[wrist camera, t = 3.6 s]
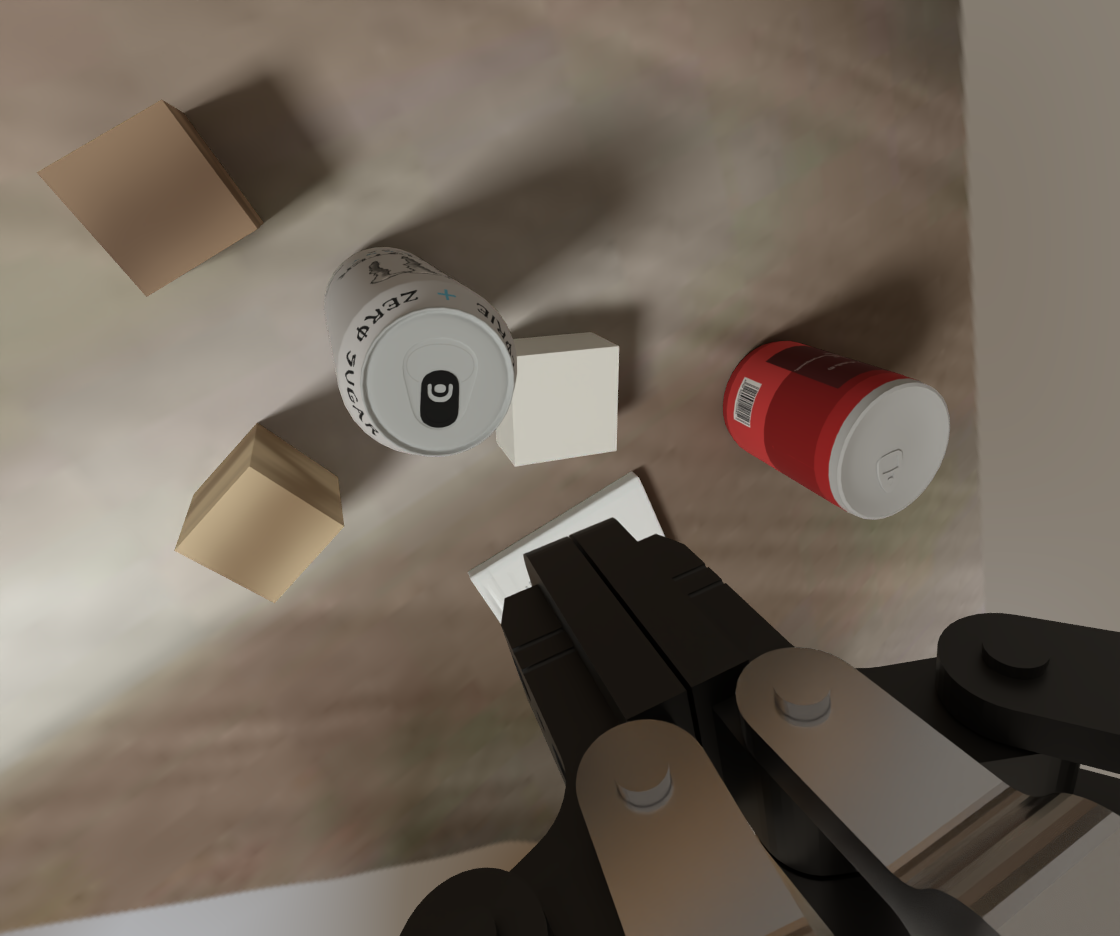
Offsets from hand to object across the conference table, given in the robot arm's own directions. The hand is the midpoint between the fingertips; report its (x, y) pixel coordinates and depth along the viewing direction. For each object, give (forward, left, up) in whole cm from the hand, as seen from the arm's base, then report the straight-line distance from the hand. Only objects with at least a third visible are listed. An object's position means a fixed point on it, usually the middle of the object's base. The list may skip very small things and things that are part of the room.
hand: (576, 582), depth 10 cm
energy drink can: (0, 0, -27) cm, 27 cm away
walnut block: (-7, -7, -27) cm, 28 cm away
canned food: (+13, +22, -27) cm, 37 cm away
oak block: (+7, -9, -27) cm, 29 cm away
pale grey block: (+7, +7, -27) cm, 29 cm away
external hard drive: (+20, +6, -27) cm, 34 cm away
